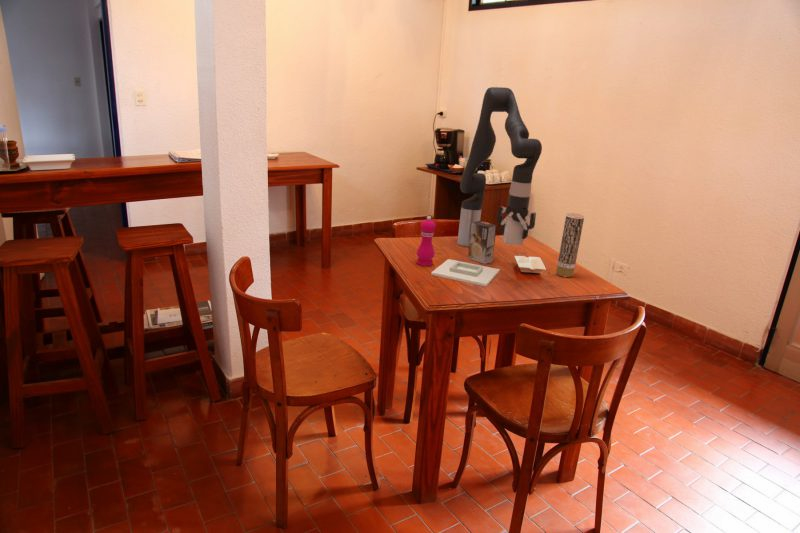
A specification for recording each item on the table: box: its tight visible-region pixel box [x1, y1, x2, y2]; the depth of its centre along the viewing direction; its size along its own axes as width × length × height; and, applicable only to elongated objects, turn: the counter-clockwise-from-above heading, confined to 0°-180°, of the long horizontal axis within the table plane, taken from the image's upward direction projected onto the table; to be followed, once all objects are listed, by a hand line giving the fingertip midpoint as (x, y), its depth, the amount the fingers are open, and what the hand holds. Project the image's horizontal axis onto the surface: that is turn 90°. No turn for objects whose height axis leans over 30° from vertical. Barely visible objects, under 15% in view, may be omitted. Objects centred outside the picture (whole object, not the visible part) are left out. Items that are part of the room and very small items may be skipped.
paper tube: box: [555, 212, 585, 278], centre depth 214 cm, size 7×7×25 cm
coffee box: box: [467, 220, 498, 265], centre depth 227 cm, size 9×6×16 cm
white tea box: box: [502, 216, 524, 246], centre depth 202 cm, size 4×7×10 cm, turn 96°
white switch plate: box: [430, 258, 501, 287], centre depth 212 cm, size 20×22×2 cm
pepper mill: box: [416, 215, 437, 267], centre depth 216 cm, size 7×7×20 cm
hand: (513, 236), depth 202 cm, fingers closed on white tea box, 7 cm apart
